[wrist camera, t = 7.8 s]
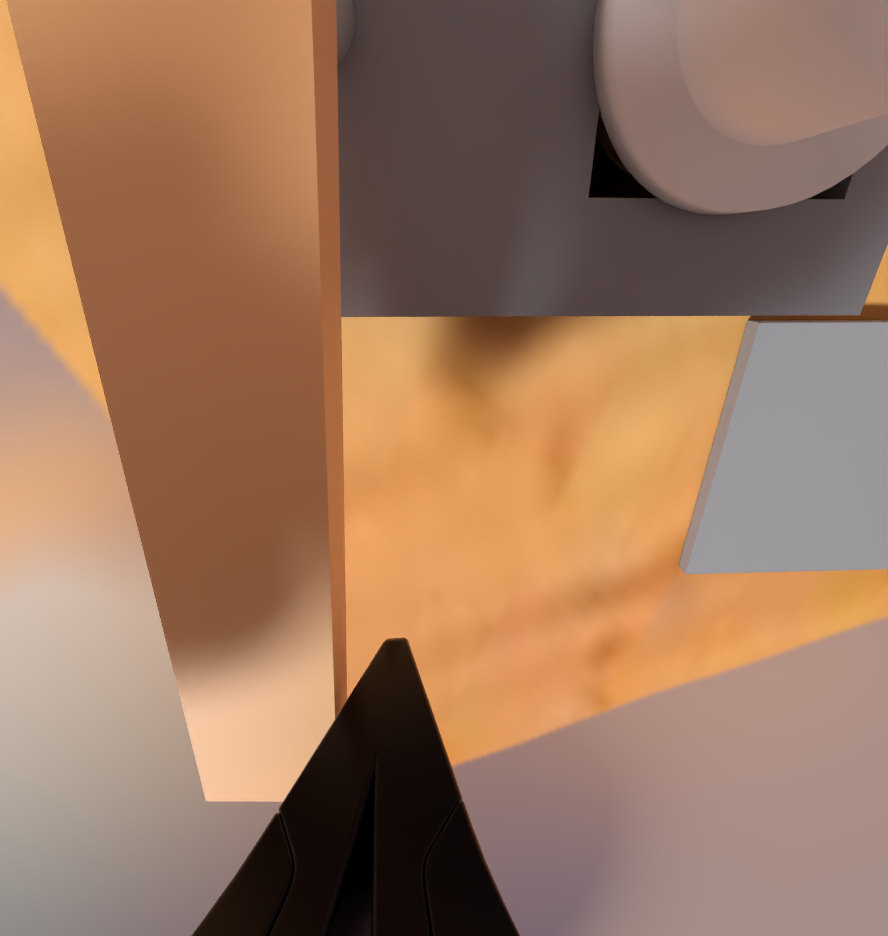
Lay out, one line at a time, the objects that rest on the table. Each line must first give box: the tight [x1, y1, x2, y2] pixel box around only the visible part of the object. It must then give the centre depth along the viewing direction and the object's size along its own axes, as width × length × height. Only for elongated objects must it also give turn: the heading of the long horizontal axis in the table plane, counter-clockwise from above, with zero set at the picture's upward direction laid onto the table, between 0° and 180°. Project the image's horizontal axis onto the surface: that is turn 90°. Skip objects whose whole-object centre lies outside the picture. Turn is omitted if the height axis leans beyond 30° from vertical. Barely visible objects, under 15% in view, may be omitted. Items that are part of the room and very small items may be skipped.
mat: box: [679, 320, 888, 574], centre depth 15 cm, size 10×9×1 cm
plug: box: [593, 0, 888, 215], centre depth 8 cm, size 6×6×7 cm
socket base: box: [336, 0, 888, 317], centre depth 7 cm, size 13×10×7 cm
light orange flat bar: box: [6, 0, 347, 801], centre depth 6 cm, size 14×3×1 cm, turn 175°
